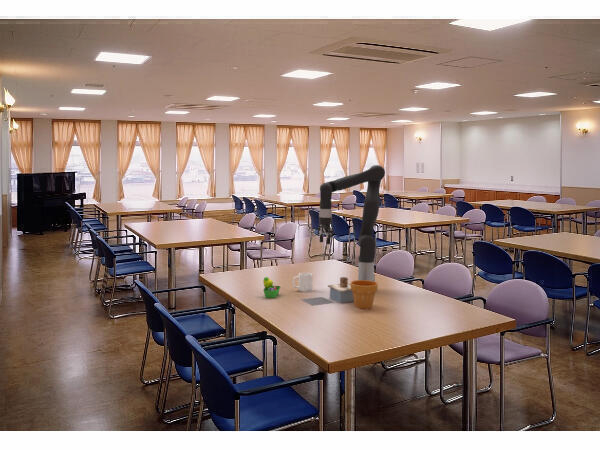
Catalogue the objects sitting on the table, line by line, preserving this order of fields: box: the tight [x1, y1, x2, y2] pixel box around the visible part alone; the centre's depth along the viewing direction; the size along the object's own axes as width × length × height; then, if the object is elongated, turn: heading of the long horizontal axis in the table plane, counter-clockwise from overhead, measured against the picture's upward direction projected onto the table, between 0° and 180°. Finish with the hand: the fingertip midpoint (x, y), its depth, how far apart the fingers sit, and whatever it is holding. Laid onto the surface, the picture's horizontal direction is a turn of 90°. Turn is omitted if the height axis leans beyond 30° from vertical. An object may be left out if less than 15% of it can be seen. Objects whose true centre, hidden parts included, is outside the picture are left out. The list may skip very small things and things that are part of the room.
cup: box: [292, 272, 313, 293], centre depth 316 cm, size 8×12×10 cm
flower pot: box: [350, 279, 378, 310], centre depth 281 cm, size 14×14×13 cm
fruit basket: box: [262, 276, 281, 299], centre depth 301 cm, size 11×9×11 cm
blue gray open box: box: [329, 287, 354, 304], centre depth 295 cm, size 11×11×7 cm
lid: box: [327, 276, 351, 292], centre depth 294 cm, size 13×13×6 cm
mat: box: [300, 296, 336, 307], centre depth 291 cm, size 14×14×1 cm
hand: (324, 243), depth 318 cm, fingers open, 8 cm apart
